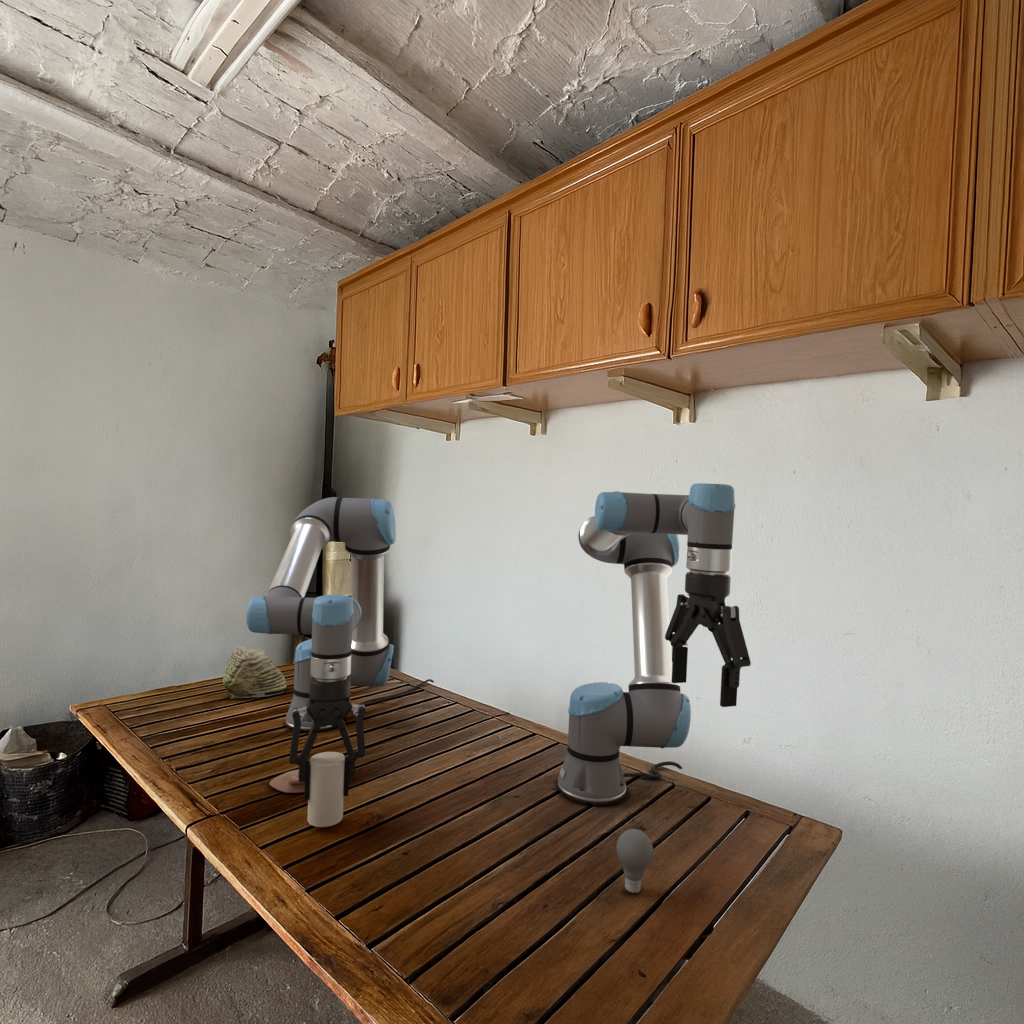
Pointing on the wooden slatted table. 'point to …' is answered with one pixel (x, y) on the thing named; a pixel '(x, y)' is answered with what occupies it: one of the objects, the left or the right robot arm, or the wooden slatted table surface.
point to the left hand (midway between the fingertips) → (326, 794)
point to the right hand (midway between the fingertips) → (702, 693)
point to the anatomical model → (288, 782)
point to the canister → (326, 789)
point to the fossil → (252, 674)
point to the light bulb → (634, 857)
